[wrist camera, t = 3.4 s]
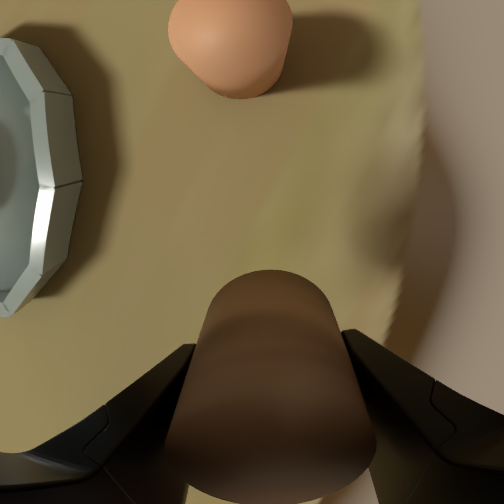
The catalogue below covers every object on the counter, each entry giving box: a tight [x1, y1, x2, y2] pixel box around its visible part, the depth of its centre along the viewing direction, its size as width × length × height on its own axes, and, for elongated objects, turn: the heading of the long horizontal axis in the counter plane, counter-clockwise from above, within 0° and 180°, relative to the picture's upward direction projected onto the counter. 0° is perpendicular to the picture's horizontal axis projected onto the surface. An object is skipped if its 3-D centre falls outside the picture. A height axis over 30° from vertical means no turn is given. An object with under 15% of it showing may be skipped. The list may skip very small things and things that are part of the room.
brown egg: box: [168, 0, 293, 99], centre depth 10 cm, size 4×4×5 cm
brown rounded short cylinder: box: [165, 270, 377, 504], centre depth 7 cm, size 4×4×5 cm
